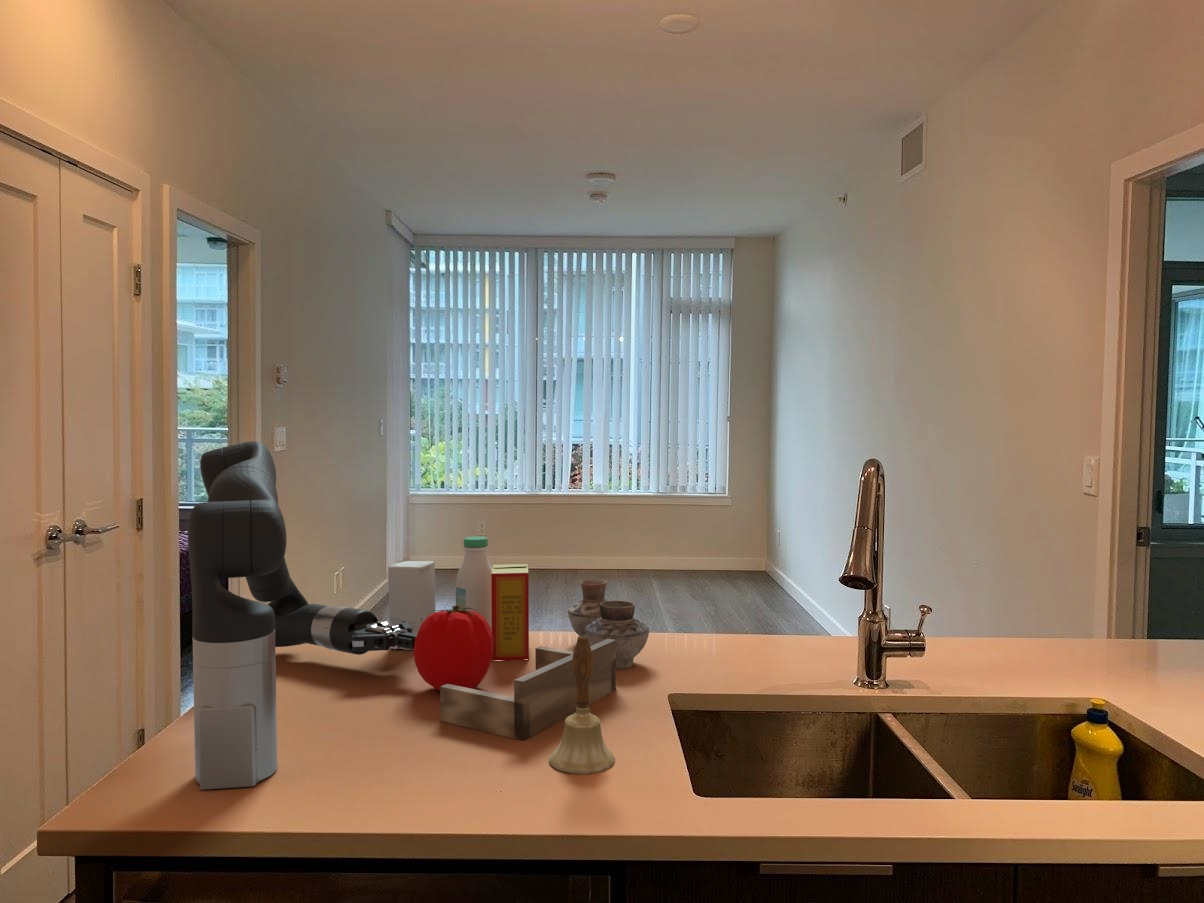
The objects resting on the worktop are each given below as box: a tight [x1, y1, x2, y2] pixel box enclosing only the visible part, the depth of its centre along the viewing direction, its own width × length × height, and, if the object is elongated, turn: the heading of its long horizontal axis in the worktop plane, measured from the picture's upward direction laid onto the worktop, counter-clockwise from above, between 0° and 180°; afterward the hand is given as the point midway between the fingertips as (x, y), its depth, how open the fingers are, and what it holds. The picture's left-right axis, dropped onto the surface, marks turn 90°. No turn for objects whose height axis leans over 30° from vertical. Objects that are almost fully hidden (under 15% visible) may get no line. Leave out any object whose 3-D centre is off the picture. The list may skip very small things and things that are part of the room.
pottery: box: [567, 578, 650, 670], centre depth 159 cm, size 11×25×12 cm, turn 17°
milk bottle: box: [455, 536, 492, 631], centre depth 168 cm, size 8×8×20 cm
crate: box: [439, 639, 617, 741], centre depth 131 cm, size 14×25×8 cm, turn 149°
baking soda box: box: [491, 563, 530, 661], centre depth 159 cm, size 10×6×16 cm
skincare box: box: [387, 560, 437, 651], centre depth 165 cm, size 8×7×16 cm
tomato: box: [412, 605, 493, 691], centre depth 139 cm, size 13×13×13 cm
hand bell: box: [548, 635, 616, 775], centre depth 110 cm, size 8×8×16 cm
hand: (420, 642), depth 142 cm, fingers closed
